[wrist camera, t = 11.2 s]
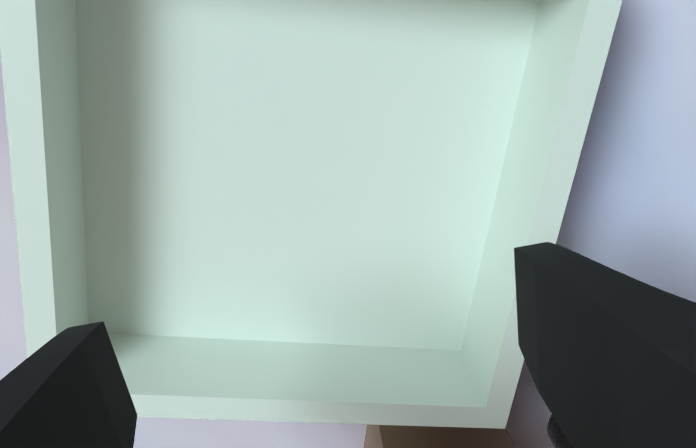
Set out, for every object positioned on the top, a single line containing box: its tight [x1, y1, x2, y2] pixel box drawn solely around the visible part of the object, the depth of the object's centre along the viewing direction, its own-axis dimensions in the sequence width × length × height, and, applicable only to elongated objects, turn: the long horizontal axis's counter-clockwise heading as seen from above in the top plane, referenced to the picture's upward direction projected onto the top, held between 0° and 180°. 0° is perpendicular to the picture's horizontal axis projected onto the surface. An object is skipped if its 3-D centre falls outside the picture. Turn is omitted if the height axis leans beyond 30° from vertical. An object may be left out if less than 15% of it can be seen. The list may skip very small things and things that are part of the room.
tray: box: [0, 0, 622, 429], centre depth 18 cm, size 14×14×4 cm
